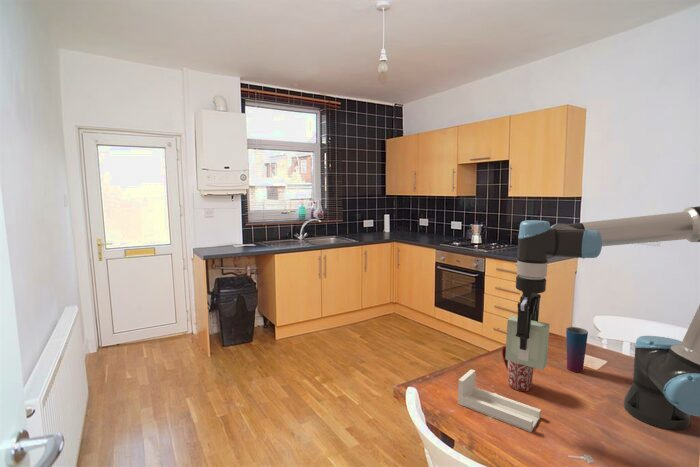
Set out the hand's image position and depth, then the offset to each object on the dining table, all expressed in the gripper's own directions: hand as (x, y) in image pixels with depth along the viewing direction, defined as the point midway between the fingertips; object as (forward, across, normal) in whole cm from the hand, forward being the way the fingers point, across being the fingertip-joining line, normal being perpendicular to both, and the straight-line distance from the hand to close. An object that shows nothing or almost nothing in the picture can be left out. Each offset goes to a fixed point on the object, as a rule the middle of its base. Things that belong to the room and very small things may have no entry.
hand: (525, 356), depth 107 cm
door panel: (+2, 0, 0) cm, 2 cm away
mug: (+20, -20, -8) cm, 29 cm away
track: (+19, 0, -6) cm, 20 cm away
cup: (+19, -44, +6) cm, 48 cm away
